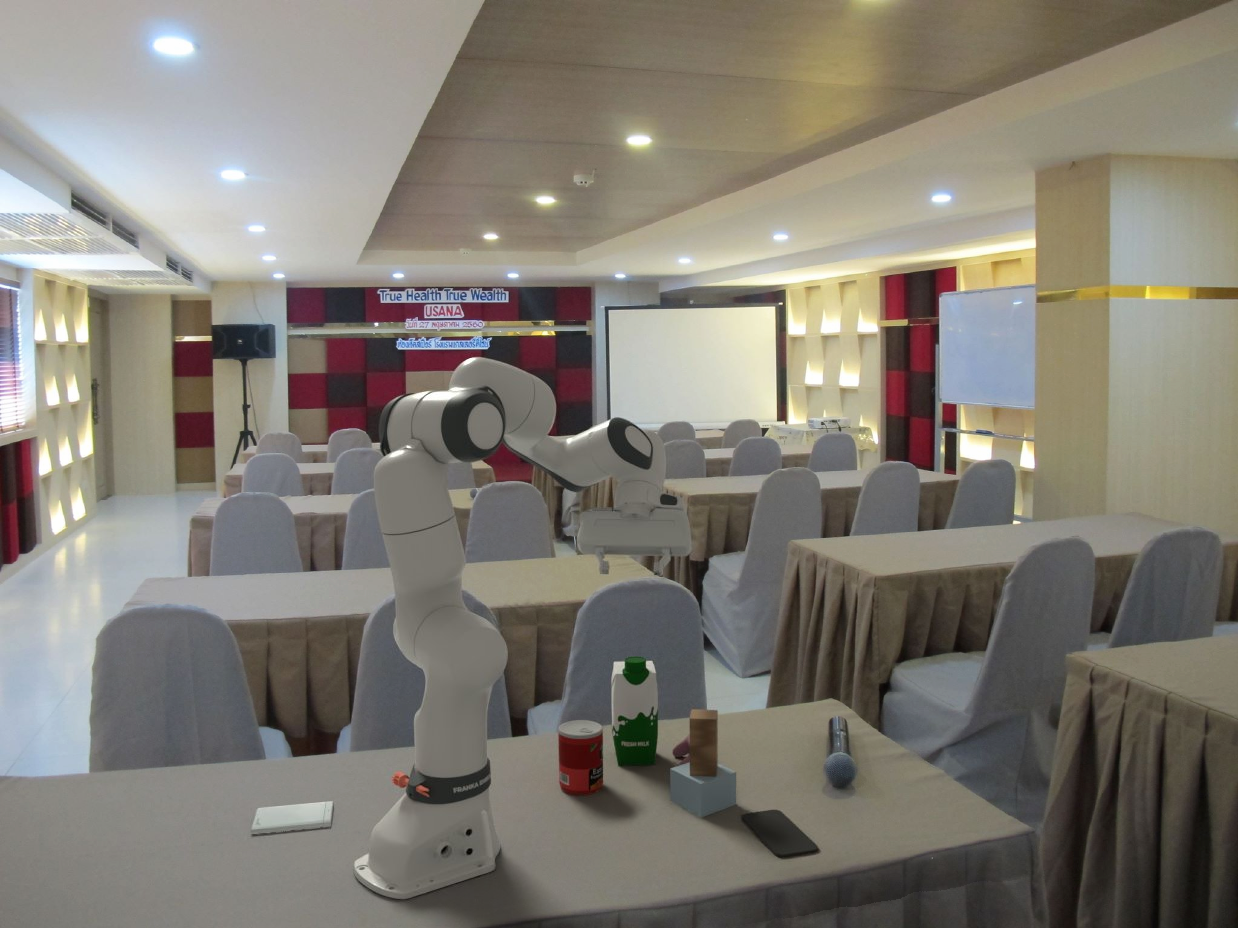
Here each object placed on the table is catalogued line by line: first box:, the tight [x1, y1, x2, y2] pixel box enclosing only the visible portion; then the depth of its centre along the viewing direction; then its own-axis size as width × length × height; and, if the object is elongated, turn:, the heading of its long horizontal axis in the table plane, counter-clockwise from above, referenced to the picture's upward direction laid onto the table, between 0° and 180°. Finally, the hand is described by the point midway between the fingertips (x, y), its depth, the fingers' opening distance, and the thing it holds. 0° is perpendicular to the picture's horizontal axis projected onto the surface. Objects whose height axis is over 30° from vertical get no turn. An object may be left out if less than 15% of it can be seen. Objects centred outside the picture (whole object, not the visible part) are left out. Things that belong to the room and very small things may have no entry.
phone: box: [740, 809, 819, 859], centre depth 163 cm, size 7×1×15 cm
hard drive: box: [250, 800, 335, 835], centre depth 169 cm, size 2×8×12 cm
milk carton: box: [610, 656, 659, 767], centre depth 193 cm, size 9×9×20 cm
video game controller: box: [672, 733, 690, 767], centre depth 190 cm, size 10×5×7 cm, turn 1°
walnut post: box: [689, 708, 719, 777], centre depth 173 cm, size 4×4×10 cm
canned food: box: [557, 719, 604, 796], centre depth 181 cm, size 8×8×11 cm
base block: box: [669, 762, 737, 818], centre depth 174 cm, size 8×8×6 cm
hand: (630, 573), depth 174 cm, fingers open, 8 cm apart
